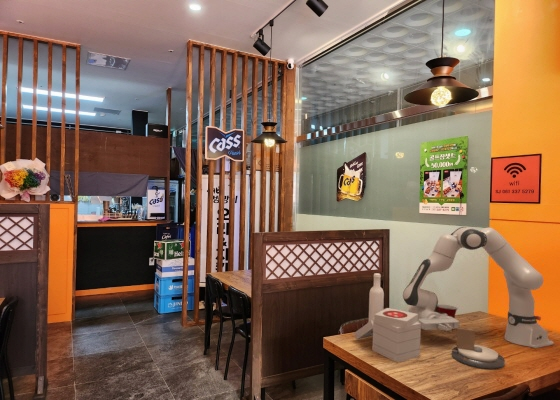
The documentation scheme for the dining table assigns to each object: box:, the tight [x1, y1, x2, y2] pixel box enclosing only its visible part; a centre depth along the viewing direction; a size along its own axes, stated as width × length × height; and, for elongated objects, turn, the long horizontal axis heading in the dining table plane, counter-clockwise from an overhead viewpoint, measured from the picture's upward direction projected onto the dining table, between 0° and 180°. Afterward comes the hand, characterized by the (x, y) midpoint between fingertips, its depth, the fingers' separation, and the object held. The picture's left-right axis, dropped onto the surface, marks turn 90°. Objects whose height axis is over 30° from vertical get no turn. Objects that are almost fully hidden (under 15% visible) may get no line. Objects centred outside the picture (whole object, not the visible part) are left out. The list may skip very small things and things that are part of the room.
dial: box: [456, 327, 499, 362], centre depth 171 cm, size 16×16×10 cm
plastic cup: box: [437, 304, 459, 319], centre depth 216 cm, size 11×11×12 cm
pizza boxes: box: [353, 307, 422, 363], centre depth 180 cm, size 19×30×18 cm, turn 31°
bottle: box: [368, 272, 385, 322], centre depth 210 cm, size 8×8×30 cm
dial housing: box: [451, 346, 506, 371], centre depth 171 cm, size 21×21×2 cm
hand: (448, 329), depth 183 cm, fingers closed
